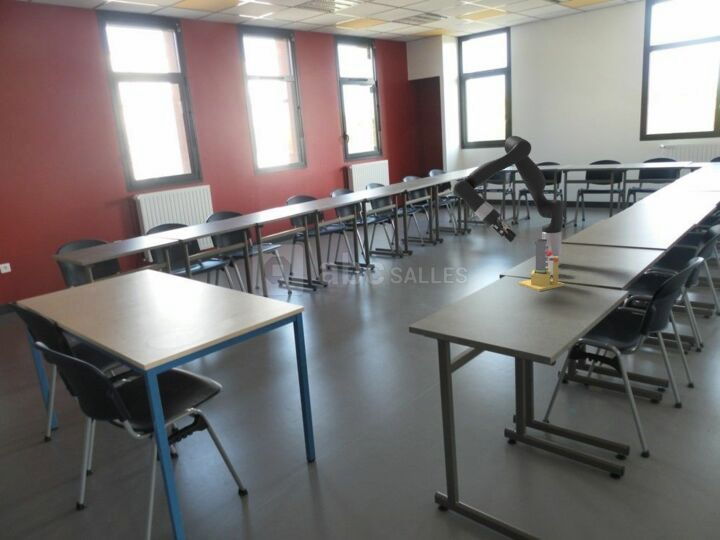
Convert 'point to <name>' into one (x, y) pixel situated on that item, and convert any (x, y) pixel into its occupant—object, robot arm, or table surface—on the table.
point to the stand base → (544, 278)
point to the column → (541, 256)
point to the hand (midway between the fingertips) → (513, 238)
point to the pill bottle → (550, 263)
